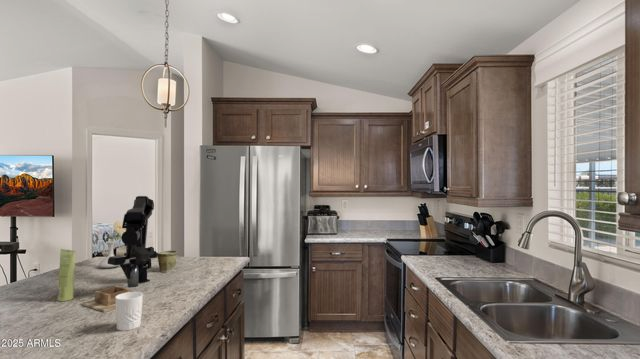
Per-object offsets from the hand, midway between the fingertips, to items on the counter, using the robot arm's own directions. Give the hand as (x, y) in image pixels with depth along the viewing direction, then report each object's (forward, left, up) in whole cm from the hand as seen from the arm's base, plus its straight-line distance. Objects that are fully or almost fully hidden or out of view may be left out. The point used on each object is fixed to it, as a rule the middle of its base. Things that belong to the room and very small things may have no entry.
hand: (133, 277), depth 144 cm
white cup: (+32, -22, -6) cm, 39 cm away
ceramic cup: (-19, +32, -6) cm, 38 cm away
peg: (0, 0, -4) cm, 4 cm away
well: (+6, -12, -6) cm, 15 cm away
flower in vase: (-51, +21, -6) cm, 56 cm away
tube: (-13, -19, -6) cm, 24 cm away
